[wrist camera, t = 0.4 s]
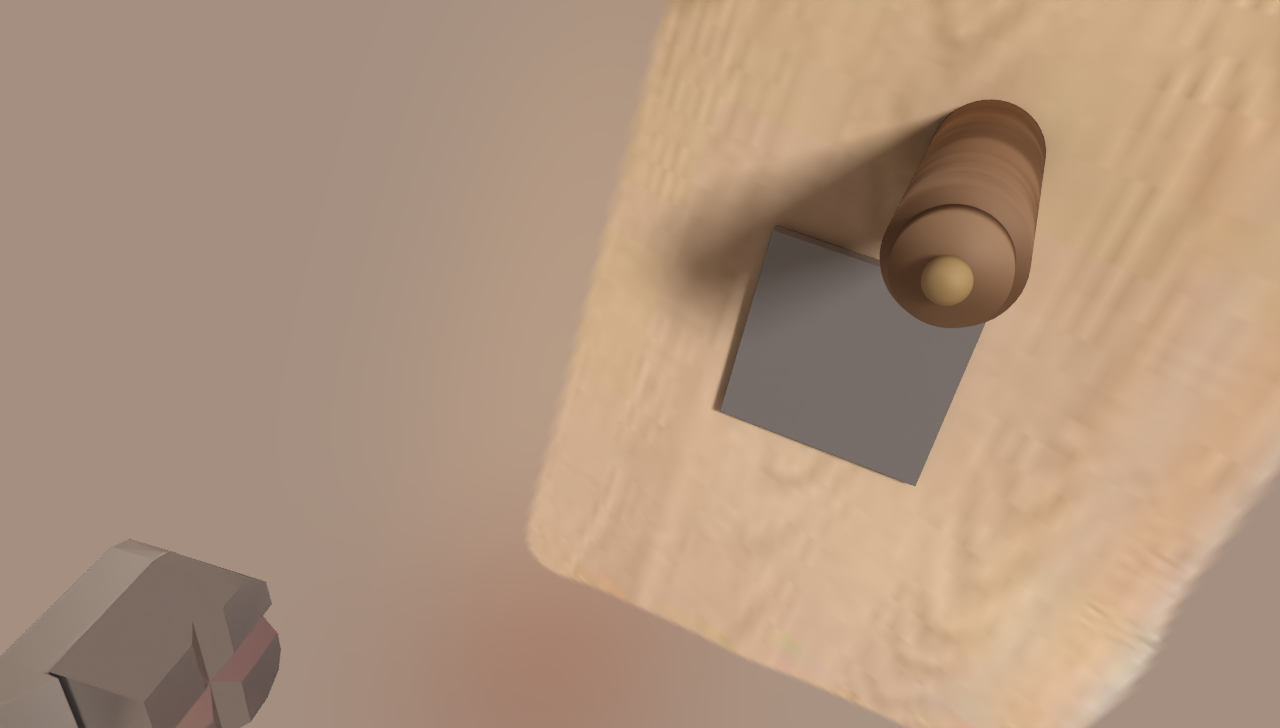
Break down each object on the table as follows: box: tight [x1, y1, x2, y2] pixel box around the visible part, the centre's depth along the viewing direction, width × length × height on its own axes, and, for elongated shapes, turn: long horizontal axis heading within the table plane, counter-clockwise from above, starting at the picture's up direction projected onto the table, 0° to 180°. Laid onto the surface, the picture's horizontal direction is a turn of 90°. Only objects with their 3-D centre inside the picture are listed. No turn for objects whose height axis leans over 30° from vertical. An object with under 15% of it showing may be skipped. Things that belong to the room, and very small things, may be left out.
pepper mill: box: [880, 100, 1046, 328], centre depth 44 cm, size 5×5×18 cm
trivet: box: [721, 226, 986, 486], centre depth 58 cm, size 12×12×1 cm
